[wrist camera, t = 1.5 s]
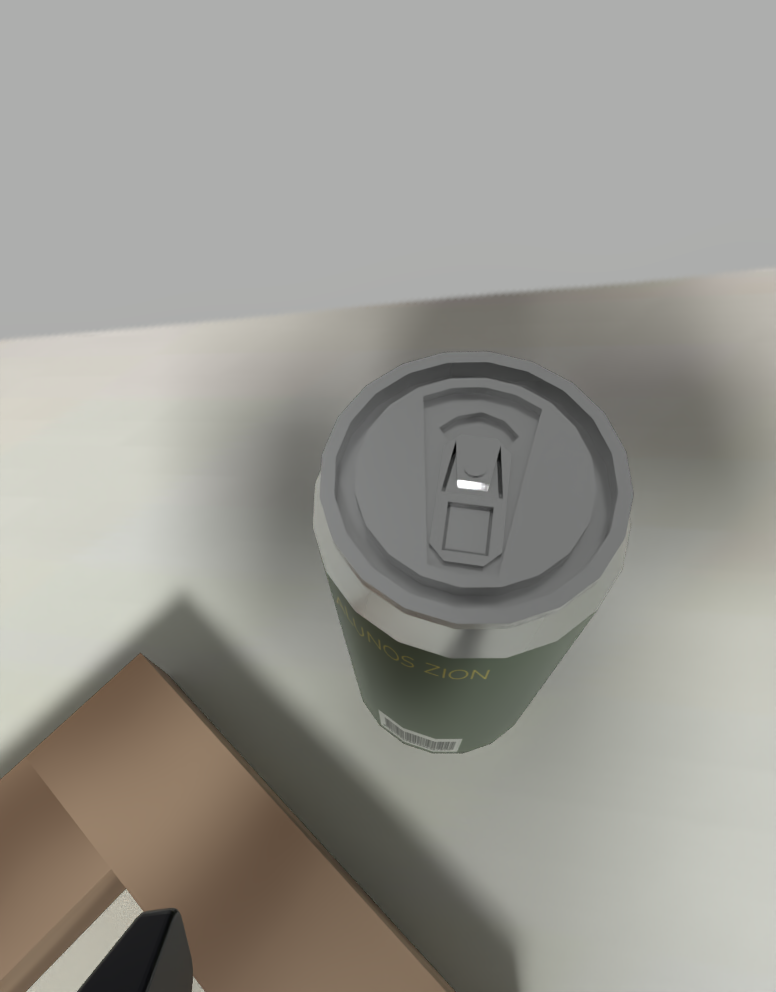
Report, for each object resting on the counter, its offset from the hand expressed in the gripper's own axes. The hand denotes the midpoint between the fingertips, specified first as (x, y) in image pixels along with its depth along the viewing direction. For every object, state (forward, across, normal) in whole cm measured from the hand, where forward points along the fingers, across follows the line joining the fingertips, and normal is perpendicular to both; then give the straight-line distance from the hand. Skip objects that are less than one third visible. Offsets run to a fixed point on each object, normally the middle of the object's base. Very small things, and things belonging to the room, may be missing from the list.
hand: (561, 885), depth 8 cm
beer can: (+13, 0, +5) cm, 14 cm away
